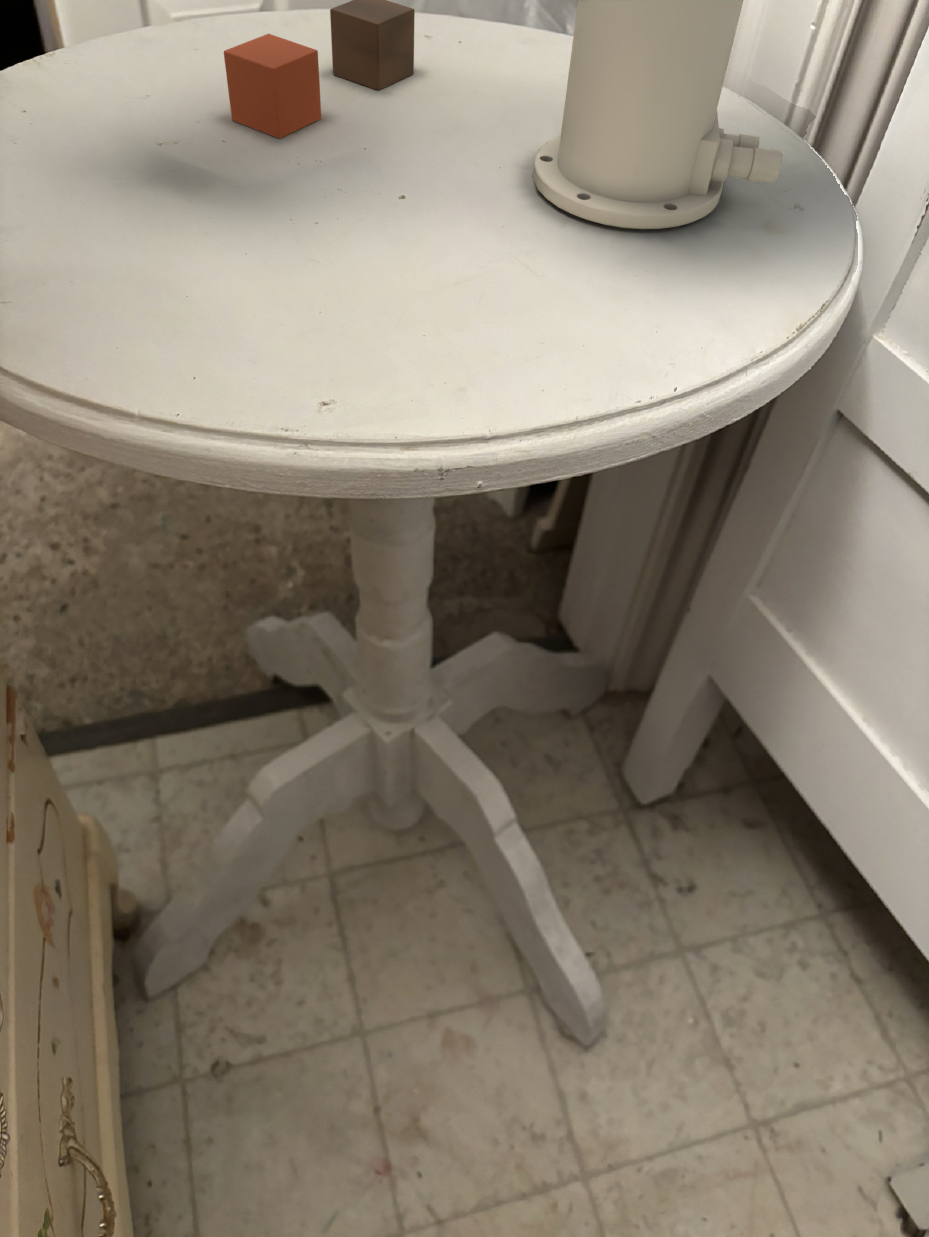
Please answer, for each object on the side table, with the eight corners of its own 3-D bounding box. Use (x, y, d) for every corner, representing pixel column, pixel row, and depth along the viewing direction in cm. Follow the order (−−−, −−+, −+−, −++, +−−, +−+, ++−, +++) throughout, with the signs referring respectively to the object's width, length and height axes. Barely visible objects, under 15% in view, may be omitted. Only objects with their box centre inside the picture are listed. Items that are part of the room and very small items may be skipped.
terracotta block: (274, 101, 70) (268, 33, 67) (322, 119, 69) (318, 50, 65) (231, 120, 68) (222, 50, 64) (279, 139, 66) (273, 68, 63)
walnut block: (368, 58, 76) (367, -6, 73) (414, 74, 75) (415, 8, 71) (332, 74, 74) (329, 9, 70) (378, 91, 72) (377, 24, 69)
